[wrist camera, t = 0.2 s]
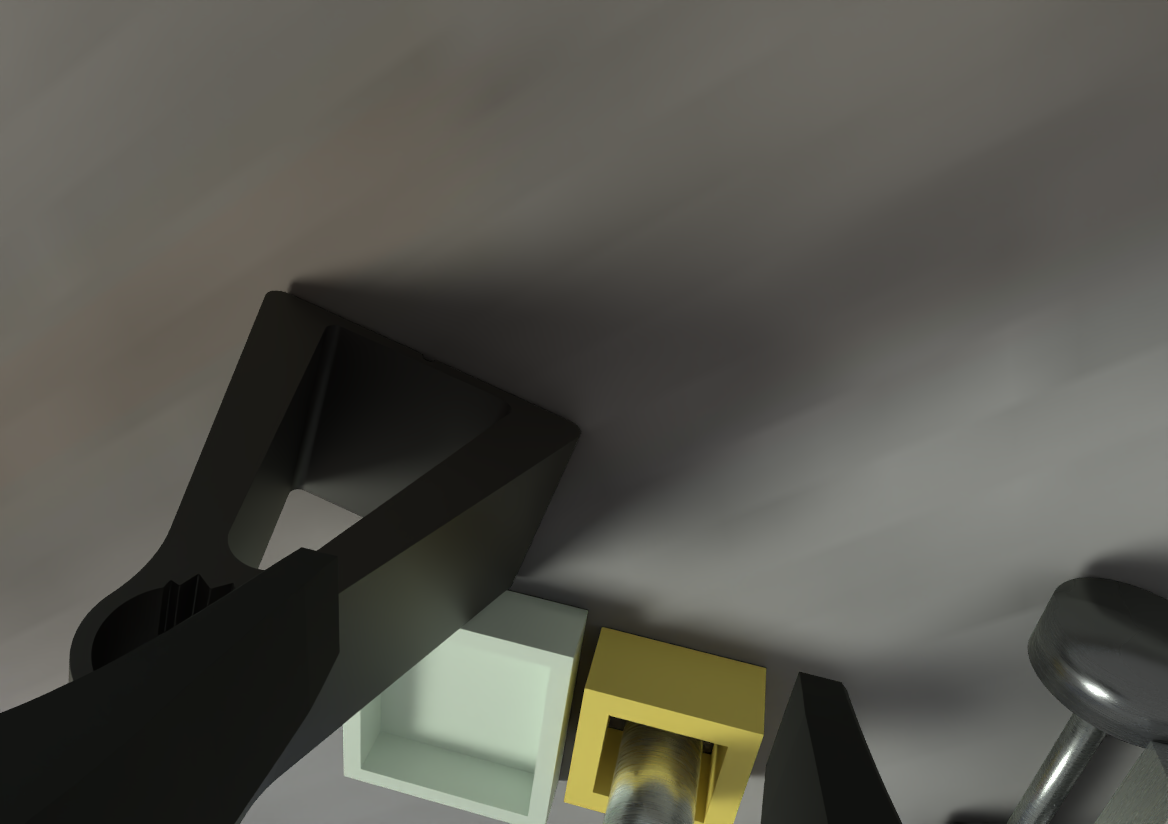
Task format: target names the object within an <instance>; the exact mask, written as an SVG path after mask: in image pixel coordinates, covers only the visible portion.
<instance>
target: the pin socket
mask: <svg viewBox="0 0 1168 824" xmlns="http://www.w3.org/2000/svg"><path fill="white" fill-rule="evenodd" d="M765 688H766V668H763V667H759V666H755V665H751V664H747V663H743V662H739V661H735V660H731V659H727V658H723V657H719V656H716V655H712V654H708V653H704V652H700V651H696V650H692V649H688V648H684V647H680V646H676V645H672V644H668V643H664V642H660V641H656V640H652V639H648V638H644V637H640V636H636V635H632V634H628V633H624V632H621V631H617V630H613V629H609V628H605V627H602V629H601V633H600V636H599V640H598V643H597V647H596V650H595V654H594V657H593V661H592V664H591V668H590V671H589V675H588V678H587V682H586V686H585V690H584V695H583V700H582V706H581V711H580V717H579V722H578V728H577V733H576V739H575V744H574V749H573V755H572V760H571V766H570V771H569V777H568V782H567V788H566V793H565V798H564V802H566V803H570V804H573V805H577V806H580V807H584V808H587V809H591V810H595V811H598V812H602V813H606V808H607V803H608V799H609V794H610V790H611V785H612V781H613V776H614V771H615V767H616V762H617V758H618V753H619V748H620V744H621V739H622V735H623V731H620V730H616V729H613V728H609V727H608V725H609V721H610V716H613V717H617V718H621V719H625V720H628V721H632V722H636V723H640V724H644V725H647V726H651V727H655V728H659V729H662V730H666V731H670V732H674V733H677V734H681V735H685V736H689V737H693V738H696V739H700V740H704V741H708V742H711V743H714V746H713V750H712V753H711V755H710V754H706V753H702V758H701V766H700V775H699V784H698V793H697V801H696V810H695V819H694V824H733V822H734V820H735V817H736V814H737V811H738V808H739V805H740V802H741V799H742V796H743V794H744V791H745V788H746V785H747V782H748V779H749V776H750V773H751V770H752V768H753V765H754V762H755V759H756V756H757V753H758V750H759V747H760V744H761V742H762V739H763V736H764V715H765Z"/></svg>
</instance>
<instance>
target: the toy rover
mask: <svg viewBox="0 0 1168 824" xmlns="http://www.w3.org/2000/svg"><path fill="white" fill-rule="evenodd" d="M1028 654H1029V659H1030V662H1031V664H1032V667H1033V669H1034V671H1035V672H1036V674H1037V676H1038V677H1039V679H1040V680H1041V681H1042V683H1043V684H1044V686H1045V687H1046V688H1047V689H1048V690H1049V691H1050V692H1051V693H1052V695H1054V696H1055V697H1056V698H1057V699H1058V700H1059V701H1060V702H1061V703H1062V704H1063V705H1064V706H1066V707H1067V708H1068V709H1069V710H1070V711H1072V712H1073V715H1072V716H1071V718H1070V720H1069V721H1068V723H1067V725H1066V726H1065V728H1064V730H1063V731H1062V733H1061V734H1060V736H1059V738H1058V739H1057V741H1056V743H1055V744H1054V746H1053V748H1052V749H1051V751H1050V753H1049V754H1048V756H1047V758H1046V759H1045V761H1044V763H1043V764H1042V766H1041V768H1040V769H1039V771H1038V773H1037V774H1036V776H1035V778H1034V779H1033V781H1032V783H1031V784H1030V786H1029V788H1028V789H1027V791H1026V792H1025V794H1024V796H1023V797H1022V799H1021V801H1020V802H1019V804H1018V806H1017V807H1016V809H1015V811H1014V812H1013V814H1012V816H1011V817H1010V819H1009V821H1008V822H1007V824H1049V823H1050V821H1051V820H1052V818H1053V816H1054V815H1055V813H1056V812H1057V810H1058V809H1059V807H1060V806H1061V804H1062V802H1063V801H1064V799H1065V798H1066V796H1067V795H1068V793H1069V792H1070V790H1071V788H1072V787H1073V785H1074V784H1075V782H1076V781H1077V779H1078V778H1079V776H1080V774H1081V773H1082V771H1083V770H1084V768H1085V767H1086V765H1087V764H1088V762H1089V760H1090V759H1091V757H1092V756H1093V754H1094V753H1095V751H1096V750H1097V748H1098V746H1099V745H1100V743H1101V742H1102V740H1103V739H1104V737H1105V736H1106V734H1109V735H1111V736H1113V737H1115V738H1117V739H1120V740H1122V741H1125V742H1127V743H1130V744H1133V745H1136V746H1139V747H1143V748H1146V749H1145V750H1144V751H1143V753H1142V754H1141V756H1140V757H1139V759H1138V760H1137V762H1136V763H1135V765H1134V766H1133V768H1132V769H1131V770H1130V772H1129V773H1128V775H1127V776H1126V778H1125V779H1124V781H1123V782H1122V784H1121V785H1120V787H1119V788H1118V789H1117V791H1116V792H1115V794H1114V795H1113V797H1112V798H1111V800H1110V801H1109V803H1108V804H1107V805H1106V807H1105V808H1104V810H1103V811H1102V813H1101V814H1100V816H1099V817H1098V819H1097V820H1096V822H1095V823H1094V824H1168V601H1167V600H1166V599H1164V598H1162V597H1160V596H1157V595H1155V594H1153V593H1151V592H1148V591H1146V590H1143V589H1141V588H1138V587H1135V586H1132V585H1129V584H1125V583H1122V582H1118V581H1113V580H1108V579H1101V578H1077V579H1072V580H1069V581H1067V582H1064V583H1063V584H1061V585H1060V586H1059V587H1058V588H1057V589H1056V590H1055V592H1054V594H1053V595H1052V597H1051V599H1050V601H1049V603H1048V605H1047V607H1046V609H1045V610H1044V612H1043V614H1042V616H1041V618H1040V620H1039V622H1038V624H1037V625H1036V627H1035V629H1034V631H1033V633H1032V635H1031V637H1030V639H1029V643H1028Z"/></svg>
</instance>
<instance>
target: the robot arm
mask: <svg viewBox="0 0 1168 824" xmlns="http://www.w3.org/2000/svg"><path fill="white" fill-rule="evenodd" d="M339 653H340V642H339V591H338V556H334V555H330V554H326V553H322V552H318V551H314V550H310V549H306V548H302V547H301V548H300V549H298V550H296V551H295V552H293V553H292V554H290V555H288V556H287V557H285V558H283V559H282V560H280V561H279V562H277V563H275V564H274V565H272V566H271V567H269V568H268V569H266V570H265V571H263V572H261V573H260V574H258V575H257V576H255V577H254V578H252V579H251V580H249V581H247V582H246V583H244V584H243V585H241V586H240V587H238V588H236V589H235V590H233V591H232V592H230V593H229V594H227V595H225V596H224V597H222V598H221V599H219V600H217V601H216V602H214V603H213V604H211V605H209V606H208V607H206V608H204V609H203V610H201V611H199V612H198V613H196V614H195V615H193V616H191V617H190V618H188V619H186V620H185V621H183V622H182V623H180V624H178V625H177V626H175V627H173V628H172V629H170V630H168V631H166V632H165V633H163V634H161V635H159V636H157V637H156V638H154V639H152V640H150V641H148V642H147V643H145V644H143V645H141V646H140V647H138V648H136V649H134V650H132V651H131V652H129V653H127V654H125V655H124V656H122V657H120V658H118V659H116V660H114V661H112V662H111V663H109V664H107V665H105V666H103V667H101V668H99V669H97V670H95V671H93V672H91V673H89V674H87V675H85V676H83V677H81V678H79V679H77V680H74V681H72V682H70V683H68V684H66V685H64V686H62V687H60V688H57V689H55V690H53V691H51V692H49V693H47V694H45V695H42V696H40V697H38V698H36V699H33V700H31V701H29V702H27V703H24V704H22V705H19V706H17V707H14V708H12V709H9V710H7V711H4V712H2V713H0V824H235V822H236V821H237V820H238V818H239V817H240V815H241V814H242V812H243V811H244V809H245V808H246V806H247V805H248V803H249V802H250V800H251V799H252V797H253V796H254V794H255V793H256V791H257V790H258V788H259V787H260V785H261V784H262V782H263V781H264V779H265V778H266V777H267V775H268V774H269V772H270V771H271V769H272V768H273V766H274V765H275V763H276V762H277V760H278V759H279V757H280V756H281V754H282V753H283V751H284V750H285V748H286V747H287V745H288V744H289V742H290V741H291V739H292V738H293V736H294V735H295V733H296V732H297V730H298V729H299V727H300V726H301V724H302V723H303V721H304V719H305V718H306V716H307V715H308V713H309V712H310V710H311V708H312V706H313V704H314V702H315V701H316V699H317V697H318V695H319V693H320V691H321V689H322V687H323V685H324V683H325V681H326V679H327V677H328V675H329V673H330V671H331V669H332V667H333V665H334V663H335V661H336V659H337V657H338V655H339ZM761 824H902V822H901V820H900V818H899V816H898V814H897V812H896V809H895V807H894V805H893V803H892V801H891V799H890V797H889V794H888V792H887V790H886V788H885V786H884V783H883V781H882V779H881V776H880V774H879V772H878V770H877V767H876V765H875V762H874V760H873V758H872V755H871V753H870V750H869V748H868V745H867V743H866V740H865V738H864V735H863V733H862V730H861V728H860V725H859V722H858V720H857V717H856V714H855V712H854V709H853V706H852V704H851V701H850V698H849V695H848V692H847V690H846V688H845V687H844V685H843V684H842V682H838V681H834V680H830V679H826V678H822V677H818V676H814V675H810V674H806V673H802V672H799V674H798V676H797V679H796V682H795V685H794V688H793V691H792V693H791V696H790V699H789V702H788V705H787V708H786V710H785V713H784V716H783V719H782V722H781V725H780V728H779V730H778V733H777V736H776V739H775V742H774V745H773V747H772V750H771V753H770V756H769V759H768V762H767V764H766V773H765V783H764V794H763V804H762V817H761Z"/></svg>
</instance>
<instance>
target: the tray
mask: <svg viewBox="0 0 1168 824" xmlns="http://www.w3.org/2000/svg"><path fill="white" fill-rule="evenodd" d="M587 615H588V610H584V609H580V608H576V607H572V606H568V605H564V604H560V603H556V602H552V601H548V600H544V599H540V598H536V597H532V596H528V595H524V594H520V593H516V592H512V591H508V590H506V591H505V592H504V593H502V594H501V595H500V596H499V597H498V598H496V599H495V600H494V601H493V602H491V603H490V604H489V605H488V606H487V607H485V608H484V609H483V610H482V611H480V612H479V613H478V614H477V615H476V616H474V617H473V618H472V619H471V620H470V621H468V622H467V623H466V624H465V625H463V626H462V627H461V628H460V629H459V630H457V631H456V632H455V633H454V634H452V635H451V636H450V637H449V638H448V639H446V640H445V641H444V642H443V643H441V644H440V645H439V646H438V647H437V648H435V649H434V650H433V651H432V652H431V653H429V654H428V655H427V656H426V657H424V658H423V659H422V660H421V661H420V662H418V663H417V664H416V665H415V666H413V667H412V668H411V669H410V670H409V671H407V672H406V673H405V674H404V675H403V676H401V677H400V678H399V679H398V680H396V681H395V682H394V683H393V684H392V685H390V686H389V687H388V688H387V689H385V690H384V691H383V692H382V693H381V694H379V695H378V696H377V697H376V698H375V699H373V700H372V701H371V702H370V703H368V704H367V705H366V706H365V707H364V708H362V709H361V710H360V711H359V712H357V713H356V714H355V715H354V716H353V717H351V718H350V719H349V720H348V721H346V722H345V723H344V724H343V753H344V776H346V777H350V778H353V779H357V780H360V781H364V782H367V783H371V784H374V785H378V786H381V787H385V788H388V789H392V790H395V791H399V792H402V793H406V794H409V795H413V796H416V797H420V798H423V799H427V800H430V801H434V802H437V803H441V804H444V805H448V806H451V807H455V808H458V809H462V810H465V811H469V812H472V813H476V814H479V815H483V816H486V817H490V818H493V819H497V820H500V821H504V822H507V823H511V824H546V823H547V820H548V816H549V813H550V809H551V806H552V802H553V799H554V795H555V792H556V788H557V784H558V780H559V775H560V769H561V763H562V758H563V752H564V746H565V740H566V735H567V729H568V723H569V718H570V712H571V706H572V701H573V695H574V689H575V683H576V678H577V672H578V666H579V661H580V655H581V649H582V644H583V638H584V632H585V626H586V621H587Z"/></svg>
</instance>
